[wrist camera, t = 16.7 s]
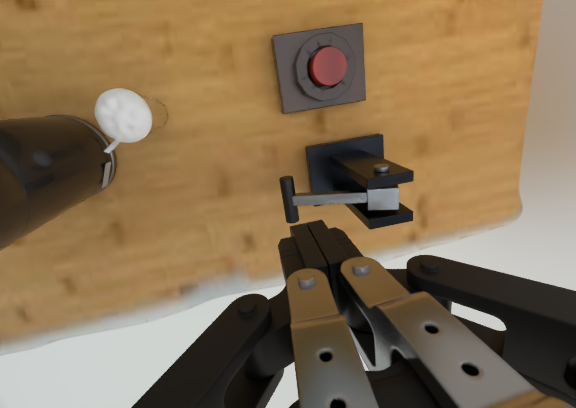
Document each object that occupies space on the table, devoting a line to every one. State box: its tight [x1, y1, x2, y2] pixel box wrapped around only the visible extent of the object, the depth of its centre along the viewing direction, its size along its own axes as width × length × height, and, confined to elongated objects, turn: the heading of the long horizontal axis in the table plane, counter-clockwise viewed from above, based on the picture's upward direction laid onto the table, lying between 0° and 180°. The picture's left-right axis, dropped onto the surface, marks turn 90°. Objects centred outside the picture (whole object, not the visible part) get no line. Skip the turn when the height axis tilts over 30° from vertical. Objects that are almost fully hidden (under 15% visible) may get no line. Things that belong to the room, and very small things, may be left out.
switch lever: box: [279, 176, 399, 223], centre depth 28 cm, size 12×5×2 cm, turn 98°
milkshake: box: [95, 88, 168, 154], centre depth 27 cm, size 4×5×10 cm
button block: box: [271, 23, 366, 114], centre depth 31 cm, size 10×8×4 cm
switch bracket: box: [305, 134, 414, 229], centre depth 31 cm, size 10×8×13 cm
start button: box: [309, 46, 347, 86], centre depth 29 cm, size 4×4×2 cm
